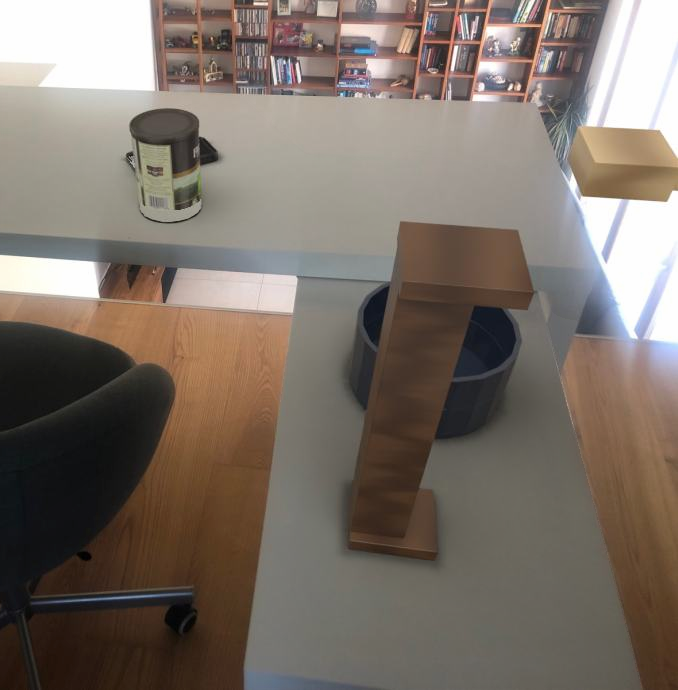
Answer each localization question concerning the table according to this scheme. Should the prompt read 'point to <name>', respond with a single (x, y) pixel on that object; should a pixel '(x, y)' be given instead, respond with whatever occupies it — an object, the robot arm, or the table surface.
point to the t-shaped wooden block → (623, 163)
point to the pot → (471, 369)
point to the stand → (423, 372)
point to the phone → (206, 153)
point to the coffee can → (167, 158)
